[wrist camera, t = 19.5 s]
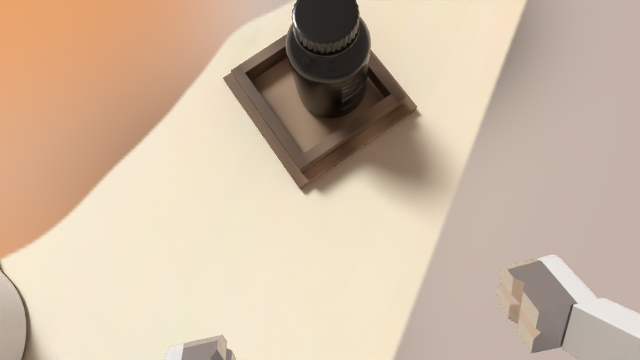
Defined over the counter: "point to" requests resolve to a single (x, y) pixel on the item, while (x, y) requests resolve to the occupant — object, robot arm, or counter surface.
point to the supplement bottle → (328, 55)
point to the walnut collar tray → (302, 125)
